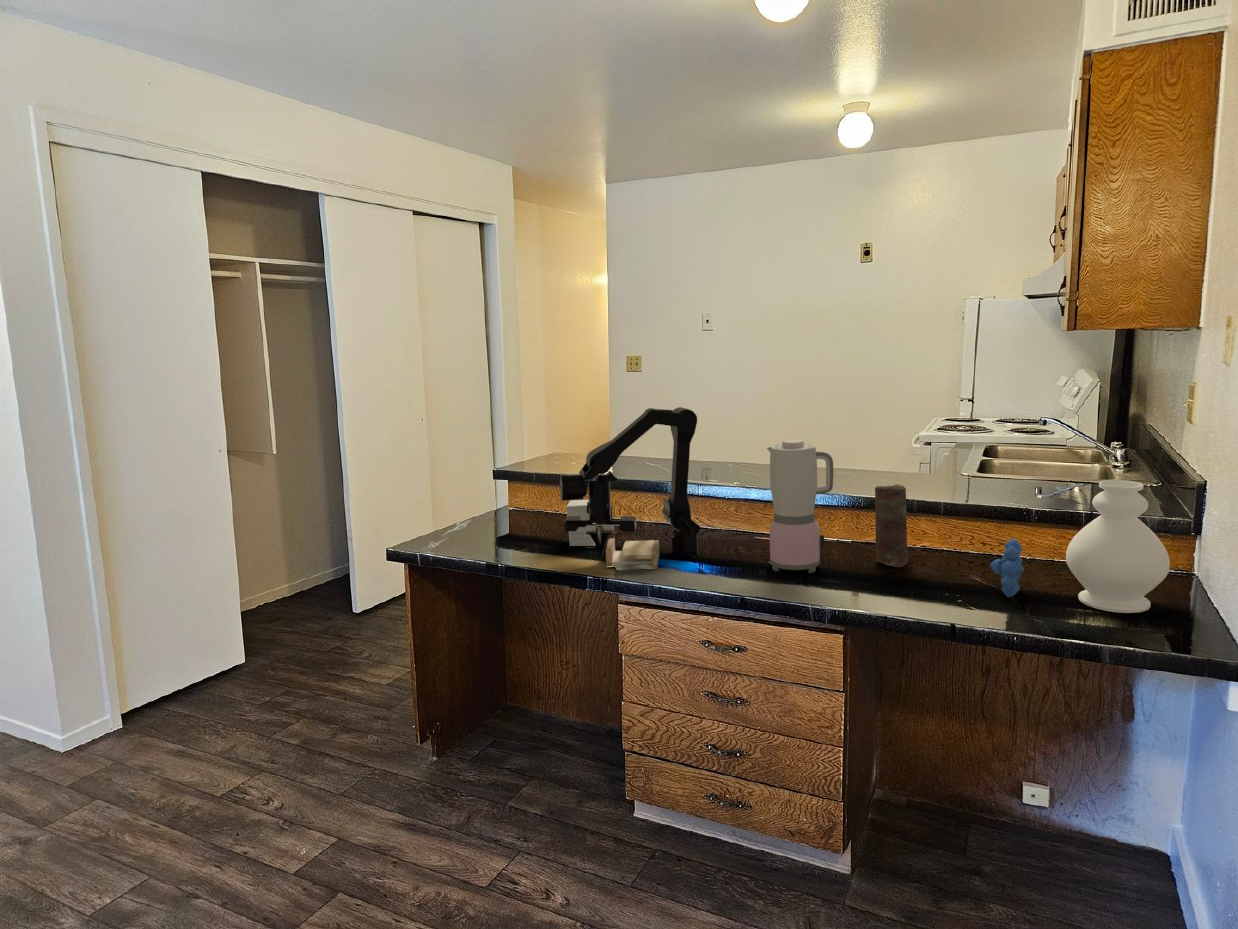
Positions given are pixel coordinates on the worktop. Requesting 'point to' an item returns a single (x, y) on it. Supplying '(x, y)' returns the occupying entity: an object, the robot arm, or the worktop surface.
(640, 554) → the beige open box
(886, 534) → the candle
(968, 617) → the worktop surface
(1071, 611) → the worktop surface
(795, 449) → the blender
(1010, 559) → the grapes
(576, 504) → the supplement box
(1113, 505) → the decorative vase
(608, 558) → the beige blocky piece
